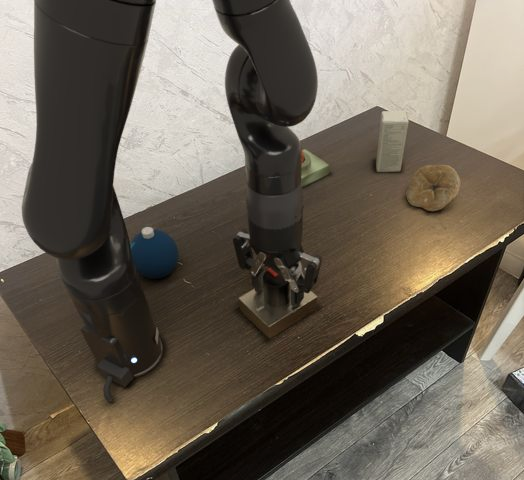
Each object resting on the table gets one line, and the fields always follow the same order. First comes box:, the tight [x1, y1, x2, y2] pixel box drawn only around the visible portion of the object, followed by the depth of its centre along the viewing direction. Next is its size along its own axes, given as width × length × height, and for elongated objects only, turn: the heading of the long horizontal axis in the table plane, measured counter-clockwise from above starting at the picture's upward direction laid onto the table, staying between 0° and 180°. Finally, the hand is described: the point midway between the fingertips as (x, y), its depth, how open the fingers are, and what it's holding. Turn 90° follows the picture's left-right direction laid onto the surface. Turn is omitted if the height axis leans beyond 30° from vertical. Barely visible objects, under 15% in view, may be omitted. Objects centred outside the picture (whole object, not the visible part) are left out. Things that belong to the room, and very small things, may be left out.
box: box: [375, 110, 410, 173], centre depth 103 cm, size 5×4×11 cm
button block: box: [301, 148, 330, 188], centre depth 105 cm, size 12×8×4 cm, turn 126°
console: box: [238, 278, 318, 340], centre depth 82 cm, size 10×9×3 cm
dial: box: [263, 267, 291, 307], centre depth 79 cm, size 4×4×5 cm
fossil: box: [405, 164, 462, 212], centre depth 97 cm, size 9×4×10 cm
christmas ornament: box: [130, 226, 179, 279], centre depth 86 cm, size 8×8×10 cm
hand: (278, 295), depth 81 cm, fingers open, 6 cm apart
